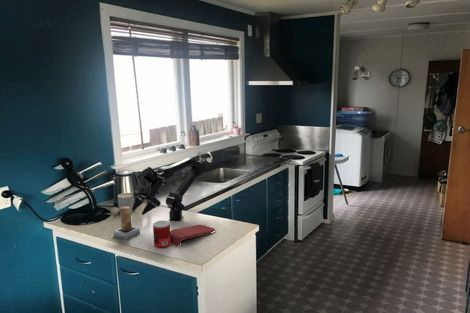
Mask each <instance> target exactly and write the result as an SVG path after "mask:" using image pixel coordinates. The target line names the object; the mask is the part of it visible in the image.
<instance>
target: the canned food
mask: <svg viewBox="0 0 470 313" xmlns="http://www.w3.org/2000/svg"><path fill="white" fill-rule="evenodd" d="M170 231H171V223H170V221H168V220H158V221H155V222H154V223H153V224H152V232H153V247H155V248H156V249H166V248H168V247H170V245H171V239H170Z"/></svg>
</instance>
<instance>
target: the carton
mask: <svg viewBox="0 0 470 313" xmlns="http://www.w3.org/2000/svg"><path fill="white" fill-rule="evenodd" d="M213 231H215V232H216V229H215V228H214V227H210V226H208V225H205V224H195V225H189V226H185V227H178V228H174V229H170V239H171V243H170V245H171V244H172V245H174V246H176V245H177V247H179V246H181V245H182V241H183V240H189V239H192V238H196V237H201V236H206V235H208V234H209V233H210V234H212V233H211V232H213ZM210 234H209V235H210ZM180 244H181V245H180ZM178 245H179V246H178Z"/></svg>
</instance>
